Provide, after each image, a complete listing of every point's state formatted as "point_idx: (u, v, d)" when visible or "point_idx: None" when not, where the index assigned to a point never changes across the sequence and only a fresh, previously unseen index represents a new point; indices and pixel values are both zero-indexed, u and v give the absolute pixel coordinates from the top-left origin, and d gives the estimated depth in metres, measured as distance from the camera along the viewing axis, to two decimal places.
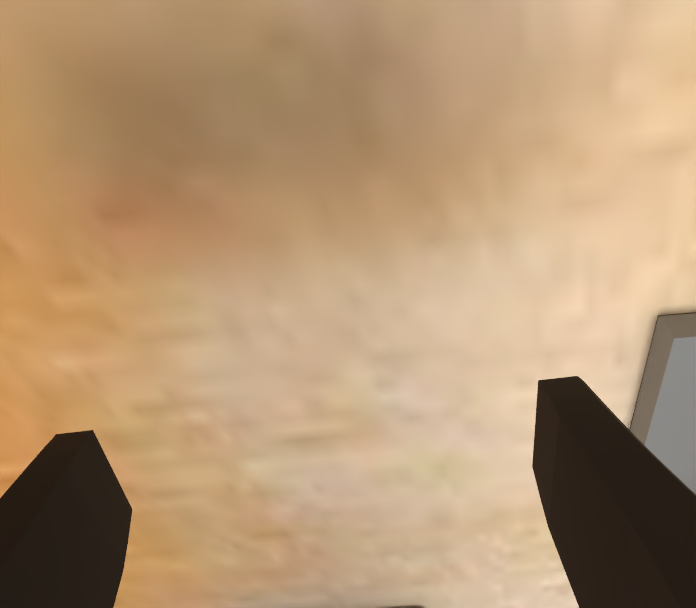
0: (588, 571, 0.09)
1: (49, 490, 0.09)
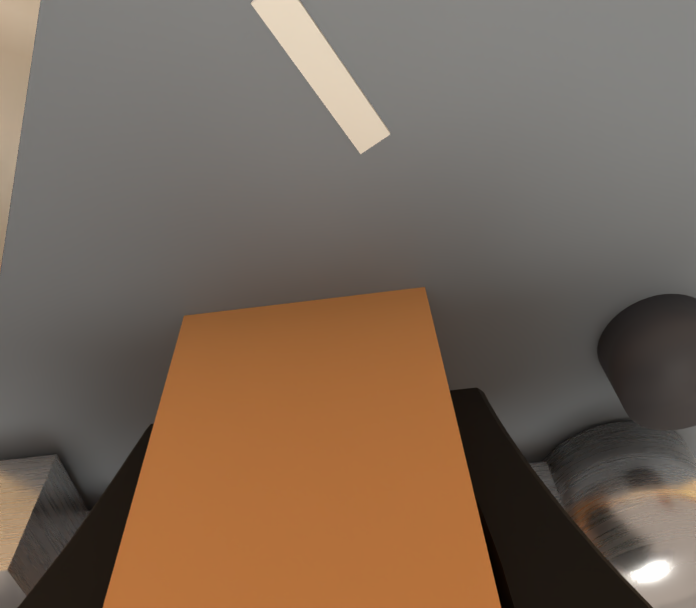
0: None
1: None
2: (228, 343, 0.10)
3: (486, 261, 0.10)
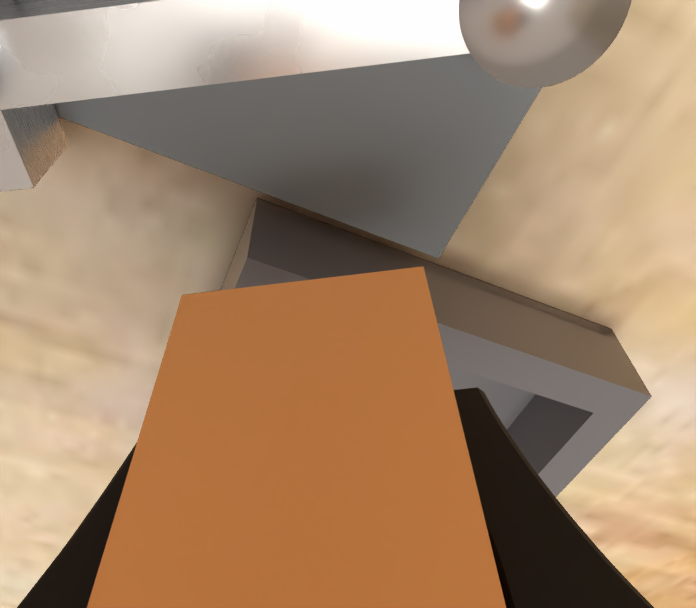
0: None
1: None
2: (226, 321, 0.10)
3: None
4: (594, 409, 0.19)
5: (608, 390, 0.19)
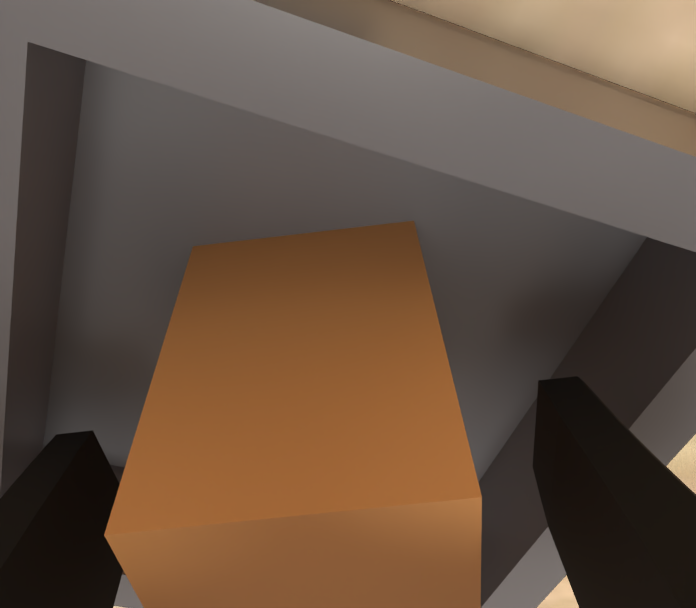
0: (589, 571, 0.09)
1: (50, 491, 0.09)
2: (233, 267, 0.11)
3: None
4: None
5: None
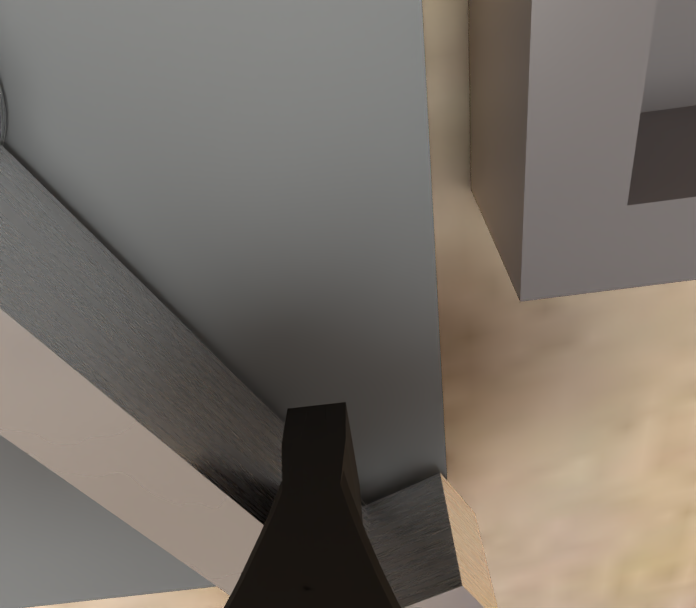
0: None
1: (342, 458, 0.09)
2: None
3: None
4: None
5: None
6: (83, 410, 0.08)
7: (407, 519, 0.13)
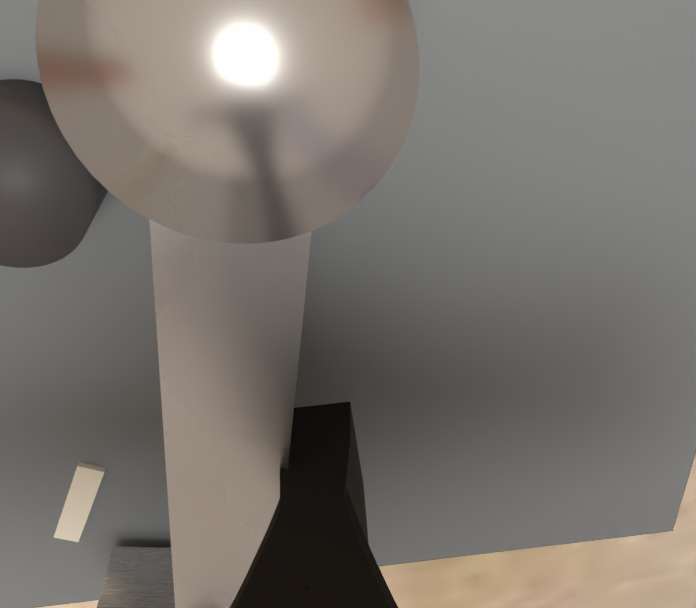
0: None
1: (346, 458, 0.09)
2: None
3: (105, 360, 0.11)
4: None
5: None
6: (259, 417, 0.08)
7: None
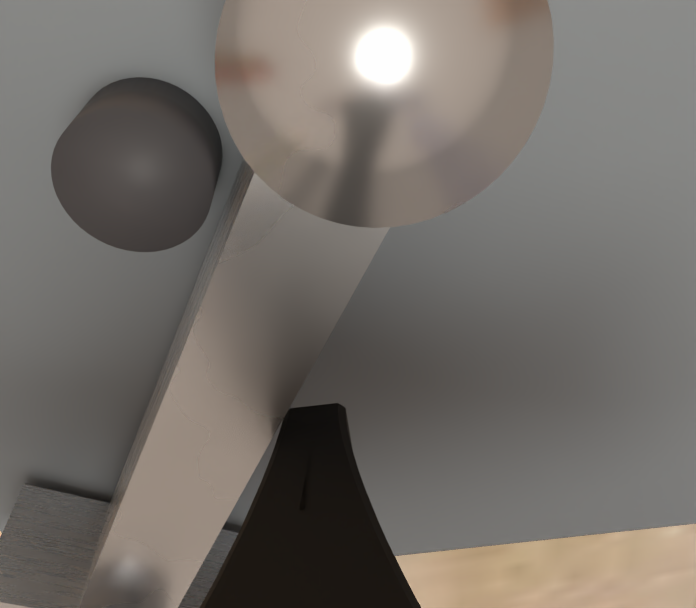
0: None
1: (320, 461, 0.09)
2: None
3: None
4: None
5: None
6: (268, 383, 0.09)
7: (219, 559, 0.14)
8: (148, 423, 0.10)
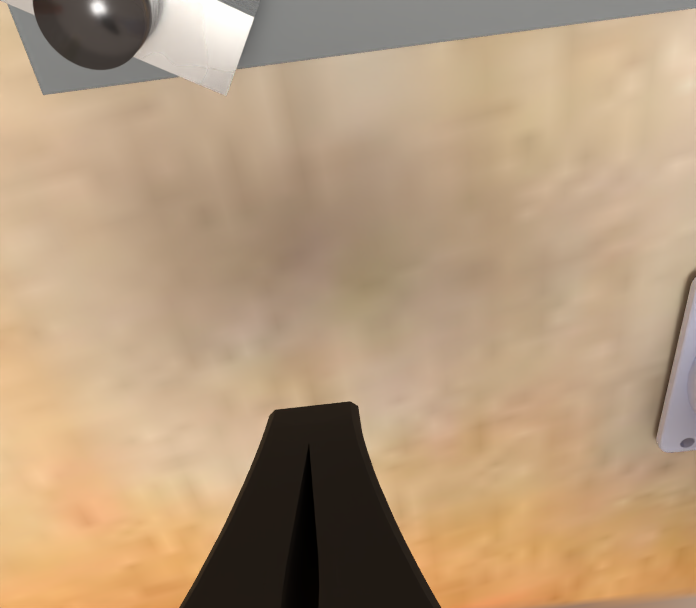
0: None
1: (302, 463, 0.09)
2: None
3: None
4: None
5: None
6: None
7: None
8: None
